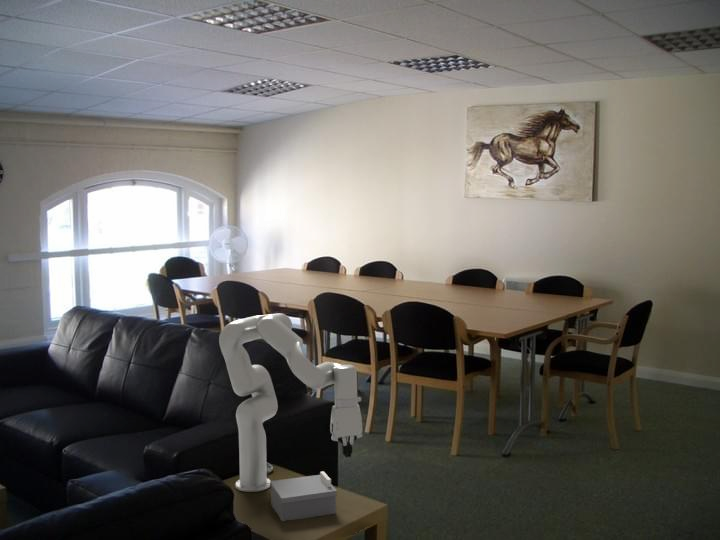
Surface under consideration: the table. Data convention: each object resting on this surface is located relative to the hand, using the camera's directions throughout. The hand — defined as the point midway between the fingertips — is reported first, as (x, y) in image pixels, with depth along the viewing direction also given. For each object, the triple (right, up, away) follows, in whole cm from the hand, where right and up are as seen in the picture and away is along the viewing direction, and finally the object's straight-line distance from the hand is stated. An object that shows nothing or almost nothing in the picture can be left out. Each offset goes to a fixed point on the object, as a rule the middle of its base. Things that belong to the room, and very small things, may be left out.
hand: (347, 455), depth 250 cm
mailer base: (-15, -17, -4) cm, 22 cm away
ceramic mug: (-34, -14, +32) cm, 49 cm away
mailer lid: (-15, -10, -4) cm, 18 cm away
